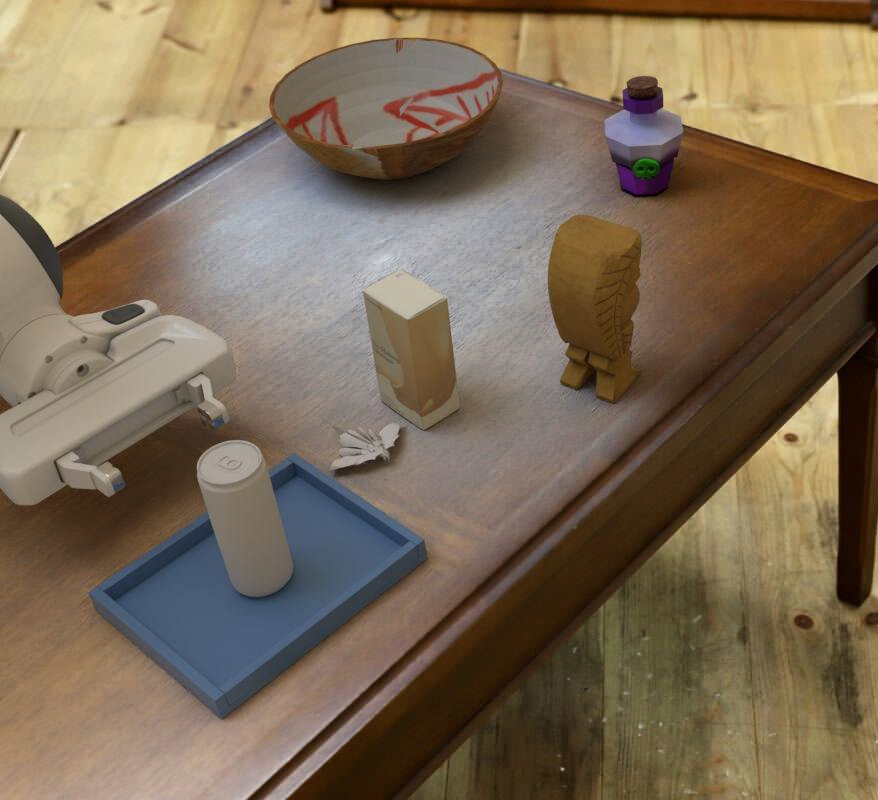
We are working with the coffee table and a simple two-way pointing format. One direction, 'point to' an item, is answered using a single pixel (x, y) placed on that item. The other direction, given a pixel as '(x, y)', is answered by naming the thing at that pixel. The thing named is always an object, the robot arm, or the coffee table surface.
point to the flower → (365, 445)
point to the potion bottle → (643, 139)
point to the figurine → (595, 301)
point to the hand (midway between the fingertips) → (169, 451)
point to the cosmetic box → (412, 348)
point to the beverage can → (245, 517)
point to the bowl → (387, 105)
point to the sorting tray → (258, 618)
